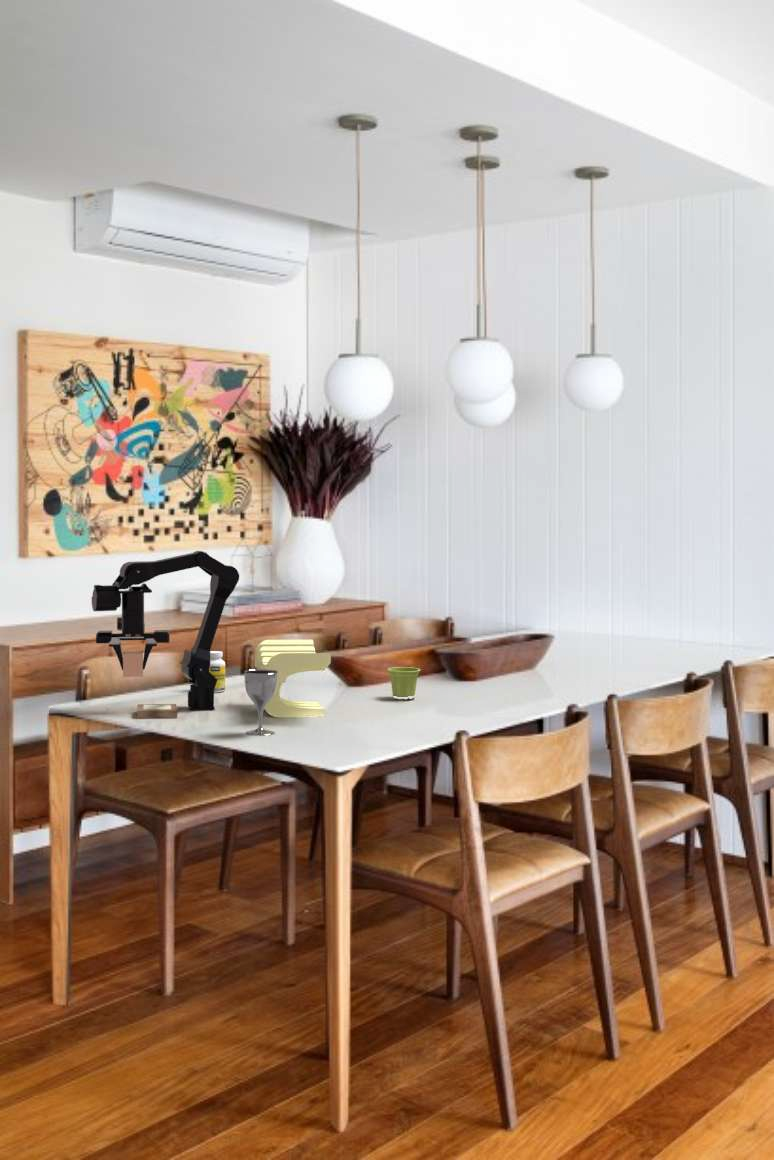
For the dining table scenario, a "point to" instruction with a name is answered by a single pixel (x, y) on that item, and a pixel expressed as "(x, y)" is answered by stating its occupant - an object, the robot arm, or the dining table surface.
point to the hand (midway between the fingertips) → (133, 669)
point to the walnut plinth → (156, 711)
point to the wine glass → (260, 693)
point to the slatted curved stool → (290, 672)
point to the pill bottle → (217, 670)
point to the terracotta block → (133, 664)
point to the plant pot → (403, 681)
